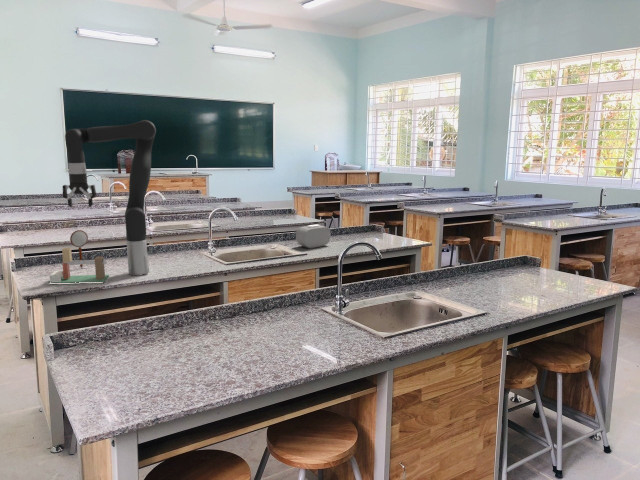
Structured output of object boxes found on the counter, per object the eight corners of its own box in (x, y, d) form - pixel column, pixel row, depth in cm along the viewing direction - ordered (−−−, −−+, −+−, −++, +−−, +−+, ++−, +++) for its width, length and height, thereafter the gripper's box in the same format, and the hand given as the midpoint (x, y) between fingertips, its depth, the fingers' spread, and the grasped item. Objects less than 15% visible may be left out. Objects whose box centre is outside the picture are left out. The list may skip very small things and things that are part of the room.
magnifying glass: (73, 270, 259) (70, 231, 255) (72, 269, 260) (68, 231, 256) (90, 267, 265) (87, 229, 261) (89, 266, 267) (86, 228, 262)
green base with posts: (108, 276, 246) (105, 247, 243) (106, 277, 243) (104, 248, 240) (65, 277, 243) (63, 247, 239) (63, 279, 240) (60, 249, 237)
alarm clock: (320, 242, 331) (321, 222, 328) (330, 245, 324) (330, 224, 321) (295, 246, 318) (295, 225, 315) (304, 249, 311) (305, 228, 308)
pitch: (109, 276, 250) (107, 254, 247) (103, 283, 239) (101, 260, 237) (56, 278, 246) (54, 255, 243) (48, 285, 235) (46, 261, 233)
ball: (59, 268, 242) (55, 274, 242) (57, 270, 238) (52, 277, 238) (67, 273, 243) (62, 279, 243) (64, 275, 239) (59, 282, 239)
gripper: (95, 171, 244) (98, 205, 248) (63, 171, 242) (67, 205, 245) (91, 173, 237) (94, 208, 240) (58, 173, 235) (62, 208, 238)
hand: (80, 206), depth 243 cm, fingers open, 8 cm apart
